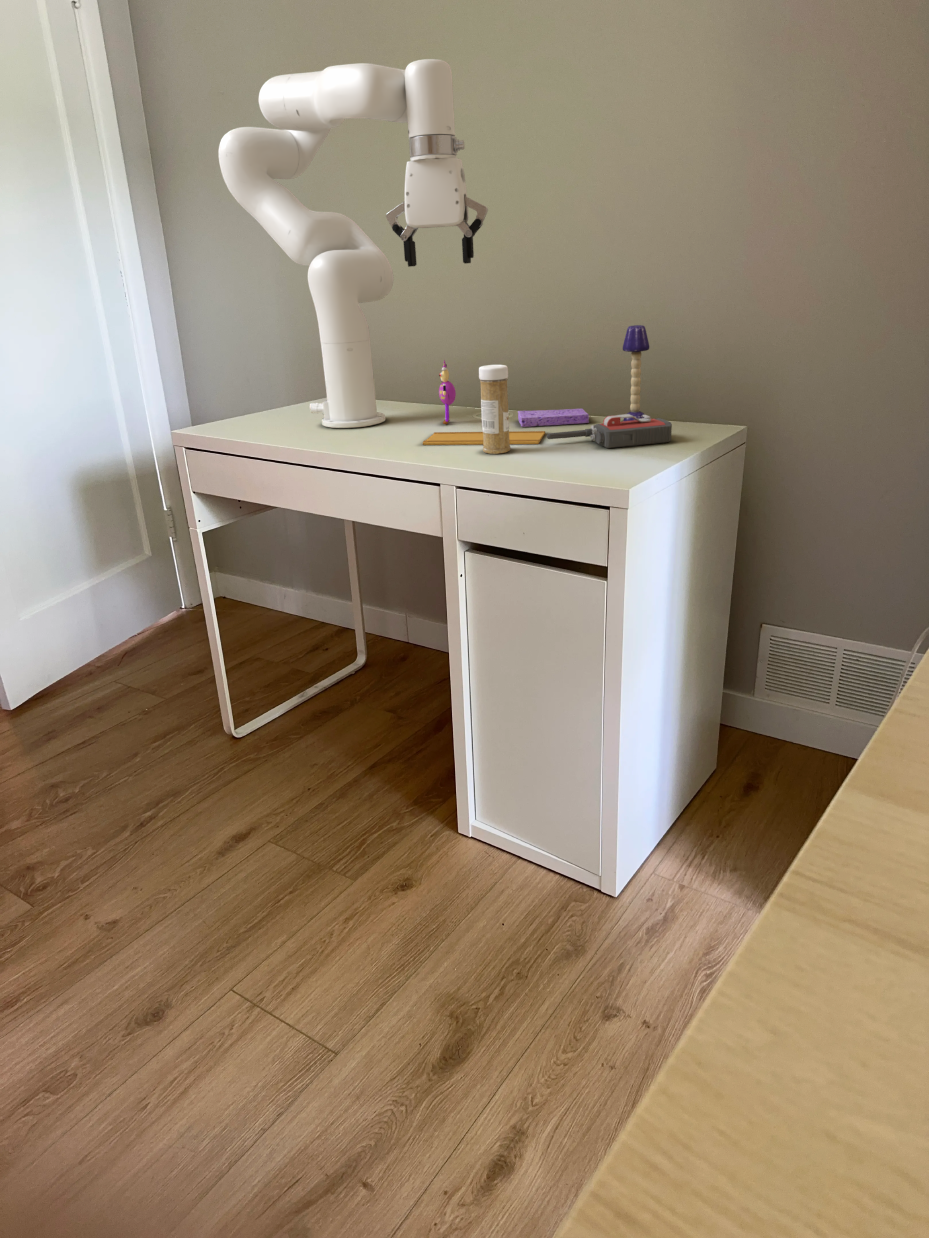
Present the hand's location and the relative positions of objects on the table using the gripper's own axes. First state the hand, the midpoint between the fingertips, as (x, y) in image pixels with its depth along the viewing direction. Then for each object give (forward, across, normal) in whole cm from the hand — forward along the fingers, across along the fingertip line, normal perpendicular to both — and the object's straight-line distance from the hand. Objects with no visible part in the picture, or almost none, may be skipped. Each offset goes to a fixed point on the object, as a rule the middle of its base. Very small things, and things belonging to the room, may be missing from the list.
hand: (439, 264), depth 145 cm
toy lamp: (+28, -33, -7) cm, 44 cm away
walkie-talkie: (+28, -30, +11) cm, 43 cm away
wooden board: (+28, -8, +7) cm, 30 cm away
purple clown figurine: (+28, +2, -8) cm, 30 cm away
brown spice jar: (+28, -12, +17) cm, 35 cm away
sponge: (+28, -18, -8) cm, 35 cm away
